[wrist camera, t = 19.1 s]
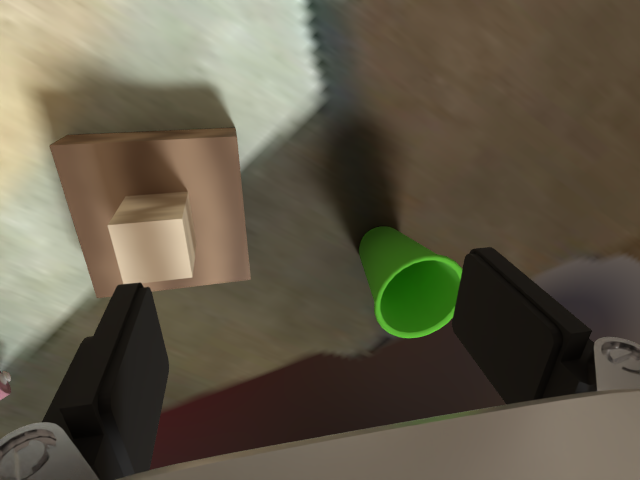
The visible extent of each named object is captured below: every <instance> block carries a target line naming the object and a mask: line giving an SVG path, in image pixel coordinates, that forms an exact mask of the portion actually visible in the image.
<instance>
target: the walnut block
mask: <svg viewBox="0 0 640 480" xmlns="http://www.w3.org/2000/svg"><path fill="white" fill-rule="evenodd" d="M50 149H51V152H52V155H53V158H54V162H55V165H56V168H57V171H58V174H59V178H60V181H61V184H62V187H63V190H64V194H65V197H66V200H67V203H68V206H69V210H70V213H71V216H72V219H73V223H74V226H75V229H76V232H77V235H78V239H79V242H80V245H81V248H82V251H83V255H84V258H85V261H86V264H87V267H88V271H89V274H90V277H91V280H92V284H93V287H94V290H95V293H96V296H97V298H102V297H110V296H112V295H113V293H114V291H115V289H116V287H117V285H120V284H123V280H122V277H121V273H120V269H119V266H118V262H117V258H116V255H115V251H114V247H113V244H112V240H111V236H110V233H109V229H108V224H109V222H110V221H111V219H112V217H113V216H114V214H115V213H116V211H117V209H118V208H119V206H120V205H121V203H122V201H123V200H124V198H125V197H126V196H136V195H150V194H163V193H176V192H188V194H189V200H190V206H191V212H192V218H193V224H194V231H195V237H196V243H197V244H196V253H195V261H194V269H193V277H192V278H183V279H175V280H166V281H158V282H149V283H142V285H143V287H150V289H151V292H152V291H160V290H168V289H176V288H185V287H193V286H201V285H210V284H218V283H226V282H234V281H243V280H251V278H250V267H249V257H248V247H247V236H246V226H245V216H244V205H243V195H242V185H241V174H240V164H239V154H238V143H237V135H236V129H235V128H214V129H191V130H169V131H146V132H124V133H101V134H78V135H67V136H65V137H63V138H62V139H60V140H58V141H56V142H55V143H53V144H51V145H50Z"/></svg>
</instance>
